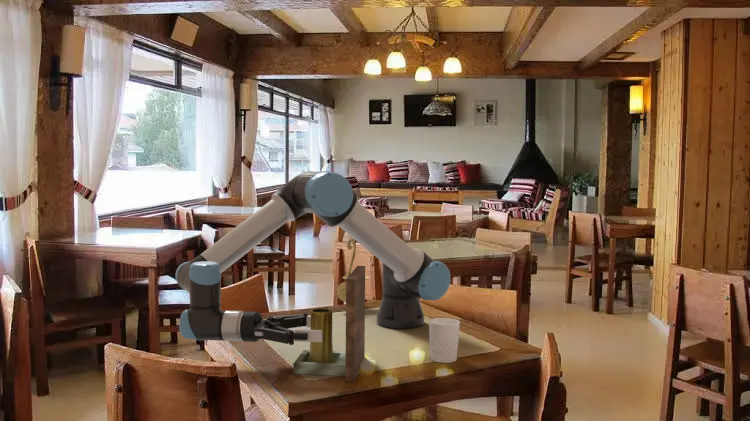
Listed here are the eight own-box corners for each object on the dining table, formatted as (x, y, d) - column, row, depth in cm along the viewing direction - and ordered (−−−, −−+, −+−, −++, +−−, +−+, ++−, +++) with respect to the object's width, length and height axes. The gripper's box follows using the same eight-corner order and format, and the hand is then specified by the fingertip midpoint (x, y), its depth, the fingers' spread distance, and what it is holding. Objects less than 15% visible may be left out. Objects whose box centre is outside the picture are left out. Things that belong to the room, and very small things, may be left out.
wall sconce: (358, 313, 220) (358, 240, 218) (332, 310, 223) (333, 238, 222) (373, 305, 233) (373, 236, 231) (348, 303, 236) (349, 235, 235)
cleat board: (289, 379, 151) (289, 277, 149) (307, 354, 170) (307, 264, 169) (354, 382, 149) (354, 278, 147) (364, 357, 169) (365, 266, 167)
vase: (337, 365, 162) (337, 308, 161) (327, 372, 156) (327, 313, 155) (315, 362, 164) (315, 306, 163) (304, 369, 158) (304, 311, 157)
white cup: (426, 355, 171) (426, 317, 171) (455, 354, 172) (456, 317, 171) (431, 364, 163) (431, 325, 163) (462, 363, 164) (462, 324, 163)
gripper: (257, 328, 174) (335, 331, 172) (226, 355, 149) (317, 358, 147) (257, 301, 173) (335, 303, 171) (226, 323, 148) (317, 326, 146)
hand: (327, 329), depth 159 cm, fingers open, 13 cm apart
